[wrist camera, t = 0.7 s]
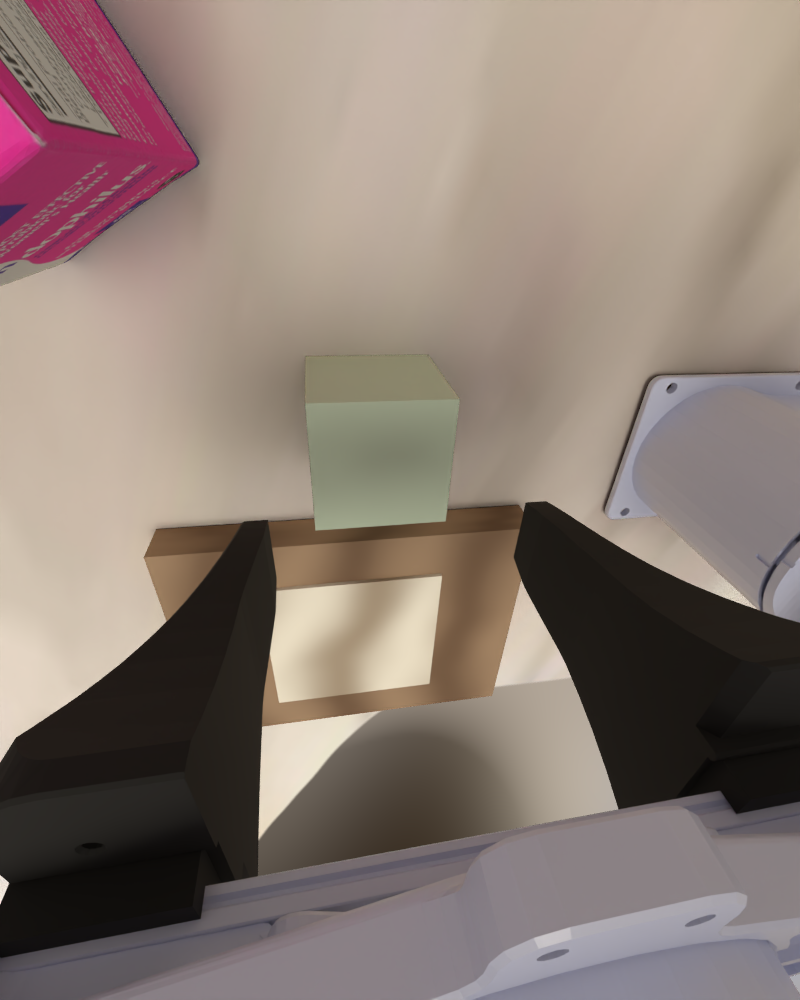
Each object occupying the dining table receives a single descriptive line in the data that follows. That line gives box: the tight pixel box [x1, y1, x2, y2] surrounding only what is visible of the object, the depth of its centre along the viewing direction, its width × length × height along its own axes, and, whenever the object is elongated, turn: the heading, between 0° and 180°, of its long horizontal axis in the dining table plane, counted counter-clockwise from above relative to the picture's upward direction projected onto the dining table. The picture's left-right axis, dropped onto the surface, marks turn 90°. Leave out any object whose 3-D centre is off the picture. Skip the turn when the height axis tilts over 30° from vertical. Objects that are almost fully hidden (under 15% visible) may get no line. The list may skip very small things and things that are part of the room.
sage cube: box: [305, 355, 460, 531], centre depth 18 cm, size 5×5×5 cm
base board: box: [144, 505, 524, 726], centre depth 26 cm, size 18×14×2 cm
